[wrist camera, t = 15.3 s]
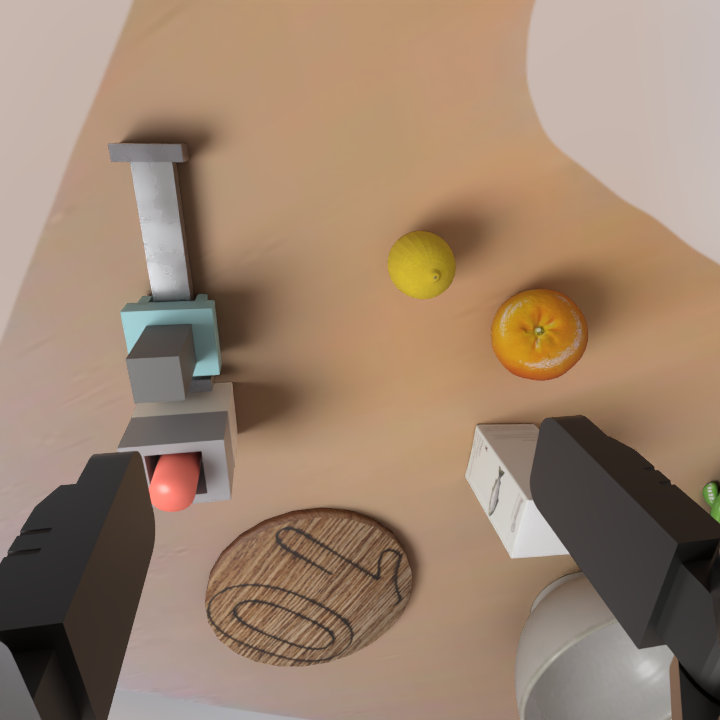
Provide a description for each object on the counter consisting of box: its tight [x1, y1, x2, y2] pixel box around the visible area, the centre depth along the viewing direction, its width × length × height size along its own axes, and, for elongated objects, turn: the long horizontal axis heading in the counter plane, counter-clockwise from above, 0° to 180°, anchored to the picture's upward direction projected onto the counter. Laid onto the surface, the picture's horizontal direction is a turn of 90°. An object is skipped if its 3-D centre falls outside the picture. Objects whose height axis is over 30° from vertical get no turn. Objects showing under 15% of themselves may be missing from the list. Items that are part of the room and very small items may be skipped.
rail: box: [108, 143, 215, 393], centre depth 41 cm, size 20×5×3 cm, turn 179°
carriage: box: [120, 294, 222, 404], centre depth 40 cm, size 6×7×11 cm
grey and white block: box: [117, 382, 238, 507], centre depth 44 cm, size 6×8×10 cm
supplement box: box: [465, 424, 569, 558], centre depth 52 cm, size 7×7×13 cm
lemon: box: [388, 231, 456, 299], centre depth 42 cm, size 6×6×8 cm
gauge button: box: [149, 451, 202, 512], centre depth 40 cm, size 3×3×6 cm
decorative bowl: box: [515, 572, 674, 720], centre depth 66 cm, size 27×27×12 cm
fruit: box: [491, 289, 588, 380], centre depth 47 cm, size 8×9×8 cm
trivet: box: [205, 508, 412, 666], centre depth 61 cm, size 25×25×2 cm
